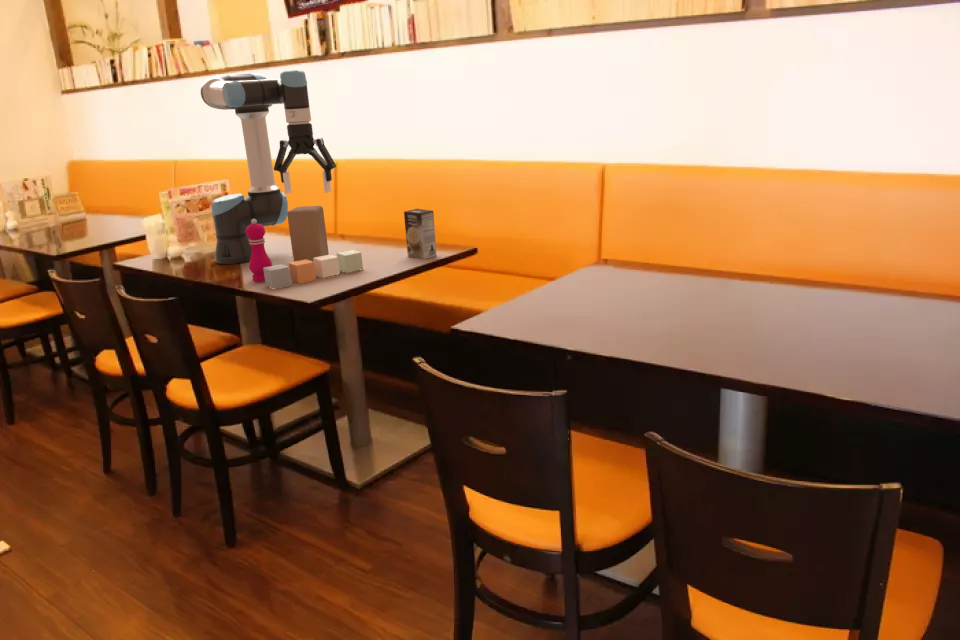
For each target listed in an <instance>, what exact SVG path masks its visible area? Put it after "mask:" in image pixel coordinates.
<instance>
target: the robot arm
mask: <svg viewBox="0 0 960 640" xmlns="http://www.w3.org/2000/svg"><path fill="white" fill-rule="evenodd" d="M279 75H280V76H279V78H278V77H277V78H266V77H265V76H264V75H263V74H261V73H252V72H249V73H240V74H239V73H237V74H220V75H215V76H212V77H209V78H208V79H206V80H205V81H204V82H203V83H202V85H201V87H200V97H201V99H202V101H203V103H205V104H206V105H207V106H208V107H210V108H213V109H216V110H217V109H218V110H234V113H235V115H236V116H237V117H238V118H239V119H240V123H241V129H242V135H243V141H244V150H245V155H246V160H247V161H246V162H247V167H248V168H247V169H248V175H249V181H250V187H249V188H248V190H247V196H245V195H244V194H243V193H233V194H232V193H231V194H227V195H223V196H220V197H218V198H216V199H214V200H213V201H211V203H210V205H211V206H210V207H211V208H210V209H211V216H212V220H213V227H214V231H215V236H216V238H215V239H216V245H215V250H214V261H215V263H216V264H219V265H235V264H241V263H242V264H243V263H246V262H250V259H251V253H252V250H251V244H249V238H248V237H247V235H246V228H247V227H248V226H249V225H250V224H252V223H251V220H252V219H256V220H257V224H261V225H262V226H263V227H264V228H265V227H269V226H271V227H274V226H276V225H282V224H283V223H285V222H286V220H287V219H288V216H287V213H288V211H289V203H288V199H287V195H288V194H290V193H292V185H291V179H290V171H288V169H289V167H290V165H291V163H292V162H293V160H294V158H295V157H296V156H297V155H310V156H311V157H312V158H313V159H314V160H315V162H317V164H318V165H319V166H320V167H321V168H322V169H323V170H322V174H321V175H322V180H323V181H322V182H323V189H324V193H330V192H331V191H332V189H331V182H332V180H333V178H332V170H333V169H335V168H336V167H337V164H336V162H335V161H334V159H333V158H332V156H331V153H330V152H329V150H328V149H327V147H326V146H325V141H324V139H323V137H320V138H316V139H314V133H313V132H314V131H313V125H312V123H311V121H312V116H311V109H310V99H309V92H308V91H309V90H308V81H307V77H306V73H305V71H304V70H301V69H297V70H295V69H293V70H283V71H280V73H279ZM281 104H283V108H284V114H285V115H284V116H285V120H286V121H285V122H286V123H287V125H286V129H287V136H288V140H286V139H282V140H280V141H279V149H278V152H277V156H276V158H275V159H276V160H275V163H274V166H273V160H272V153H271V147H270V141H269V140H270V139H269V135H268V134H269V133H268V128H267V120H266V117H267V115H268V114H269V113H270V111H269V108H270V107H272V106H273V105H281ZM315 146H316V147H317V149H318V150H319V152H320V153H318V151H317V149H316V148H315ZM288 147H289V148H290V150H289V151H288V154H287V156H286V152H287V149H288ZM320 154H321V155H320ZM285 156H286V158H285ZM274 171H275V172H279V174H280V175H279V176H280V180H281V183H283V184H284V185H283V186H284V191H283V192H282V191H281V187H279V186H278V185H277V184H276V183H275V182H276V181H275V174H274V173H275V172H274ZM286 194H287V195H286Z"/></svg>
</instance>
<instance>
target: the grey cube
mask: <svg viewBox="0 0 960 640" xmlns="http://www.w3.org/2000/svg"><path fill="white" fill-rule="evenodd" d="M263 270H264V277H265V281H264V282H265V287H267V286H268V287H267V288H269V287H271V288H270V289H272V288H273V289H272V290H275V289H274V288H277V289H281V288H280V287H282V288H285V286H286V287H290V285H291V286H292V281H291V276H290V269H289V266H287V265H285V264H282V263H281V264H275V265H272V266H269V267H264V268H263Z"/></svg>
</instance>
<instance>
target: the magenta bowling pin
mask: <svg viewBox="0 0 960 640" xmlns="http://www.w3.org/2000/svg"><path fill="white" fill-rule="evenodd" d="M251 223H252V224H250V225H249V226H248V227H247V228H246V235H247V237H248V238H249V244H251V250H252V253H251V259H250V261H248V262H249V265H248V267H249V268H248V269H249V271H250V272H251V273H252V276H251V277H252V279H251V280H252V281H253V282H254V281H255V282H257V283H260V282H261V283H262V281H263V282H265V277H264V270H263V268H264V267H269V266H273V263H272V261H271V258H270V257H269V255H268V254H267V252H266V249H265V243H266V240H265V238H264V236H265V235H266V229H265V227H263V226H262V225H261V224H257V220H256V219H252V220H251Z"/></svg>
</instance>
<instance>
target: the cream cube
mask: <svg viewBox="0 0 960 640" xmlns="http://www.w3.org/2000/svg"><path fill="white" fill-rule="evenodd" d="M313 261H314V266H315V274H316V275H317V276H316V277H318V276H320V277H319V278H321V277H323V278H322V279H325V278H324V277H328V276H332V277H334V276H333V275H337V276H339V275H338V274H340V275H341V271H340V269H339V261H338V257H337V255H333V254H329V255H325V256H320V257H315V258H313ZM328 278H329V277H328Z"/></svg>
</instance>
